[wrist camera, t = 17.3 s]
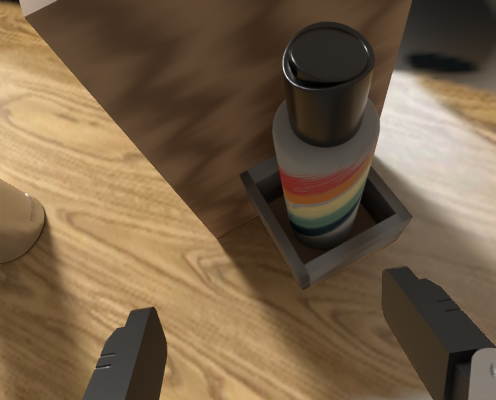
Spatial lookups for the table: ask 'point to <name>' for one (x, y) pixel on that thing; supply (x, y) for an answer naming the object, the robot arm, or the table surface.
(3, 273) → the table surface
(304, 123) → the lotion bottle
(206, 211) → the bracket
